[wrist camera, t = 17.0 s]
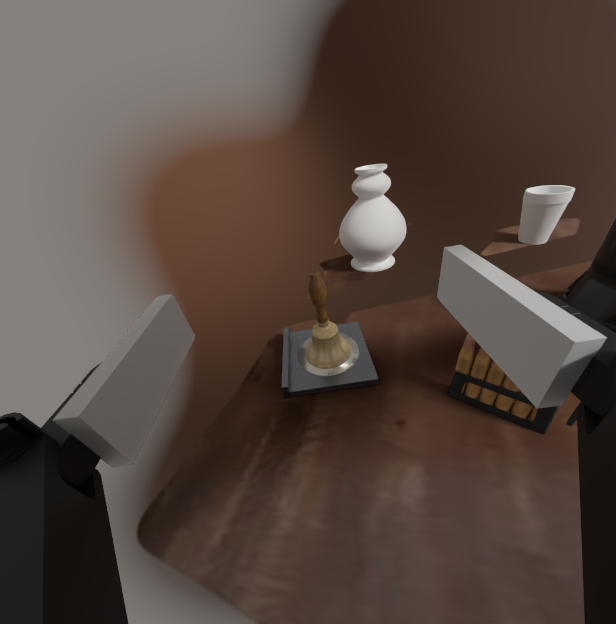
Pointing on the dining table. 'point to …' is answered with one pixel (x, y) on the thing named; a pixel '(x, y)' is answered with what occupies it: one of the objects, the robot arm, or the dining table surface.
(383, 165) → the decorative vase
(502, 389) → the ammunition clip
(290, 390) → the plate
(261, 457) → the dining table surface
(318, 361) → the hand bell
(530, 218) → the foam cup
